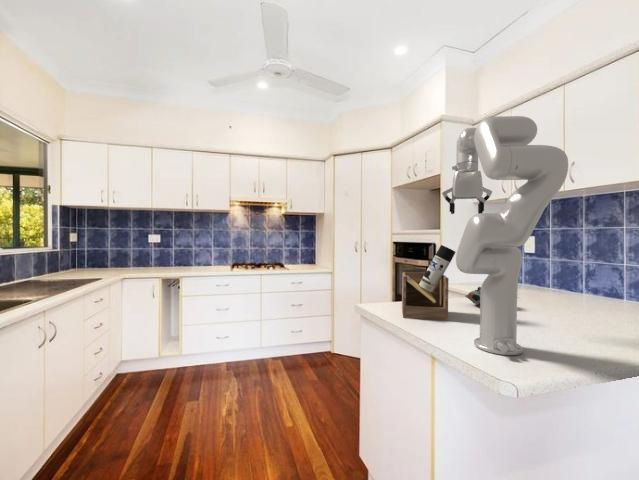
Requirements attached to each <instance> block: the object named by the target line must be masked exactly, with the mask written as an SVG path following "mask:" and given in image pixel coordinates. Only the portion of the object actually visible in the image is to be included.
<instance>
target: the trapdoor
mask: <svg viewBox="0 0 639 480" xmlns="http://www.w3.org/2000/svg"><path fill="white" fill-rule="evenodd" d="M406 280H407V281H408V282H409V283H410V284H411V285H412V286H414V287H415V288H416V289H417V290H419V291H420V292H421V293H422V294H424V295H425V296H426V297H427V298H429V299H430V300H431V301H432V302H434V303H435V302H436V300H435V299H434V298H433V296H432V295H431V294H430V293H429V292H427V291H426V290H424V289H423V288H421V287H420V286H419V284H417V283H416V282H415V281H414V280H412V279H411V278H410V276H408V275H406Z"/></svg>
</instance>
